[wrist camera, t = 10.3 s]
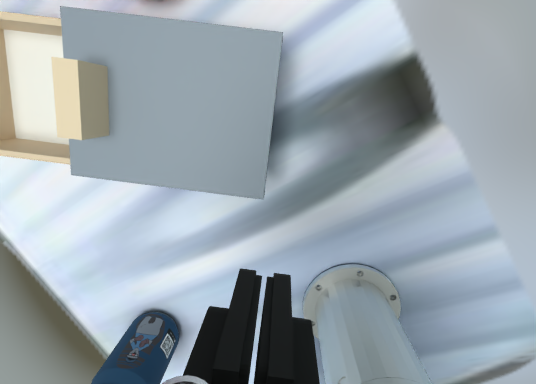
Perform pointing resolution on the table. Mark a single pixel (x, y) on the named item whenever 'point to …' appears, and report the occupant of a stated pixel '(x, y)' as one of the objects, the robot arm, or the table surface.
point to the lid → (166, 101)
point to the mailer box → (29, 88)
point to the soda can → (141, 352)
